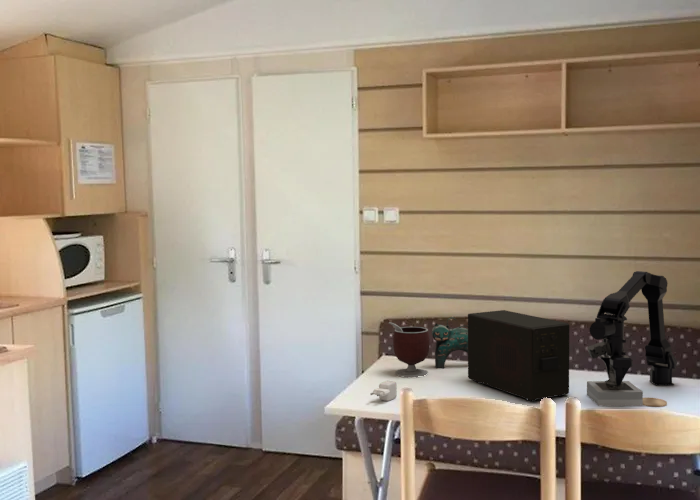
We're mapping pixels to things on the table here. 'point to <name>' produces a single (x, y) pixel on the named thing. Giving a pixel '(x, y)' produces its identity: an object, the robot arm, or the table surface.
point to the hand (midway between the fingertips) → (614, 382)
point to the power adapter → (386, 390)
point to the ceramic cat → (448, 342)
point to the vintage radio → (519, 353)
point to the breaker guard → (614, 394)
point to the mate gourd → (411, 348)
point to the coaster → (654, 402)
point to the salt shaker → (613, 381)
